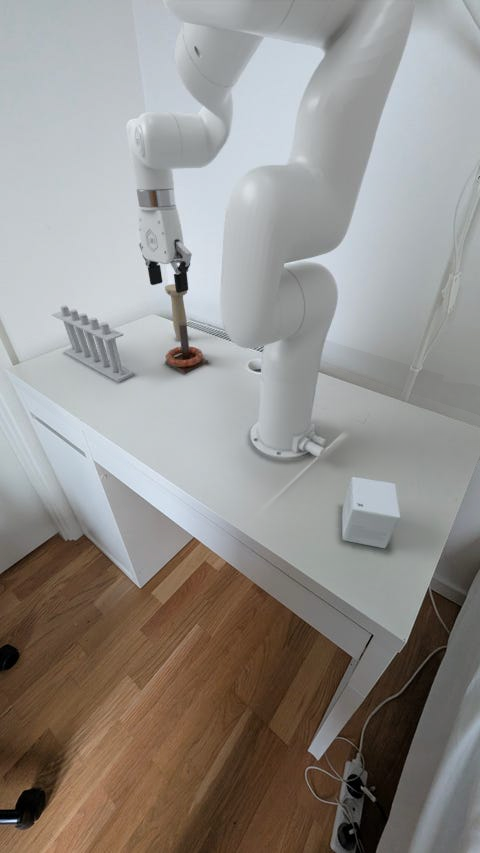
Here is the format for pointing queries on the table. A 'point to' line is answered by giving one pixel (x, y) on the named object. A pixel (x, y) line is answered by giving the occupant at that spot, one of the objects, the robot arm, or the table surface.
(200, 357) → the ring
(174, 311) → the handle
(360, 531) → the product box
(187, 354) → the rack post
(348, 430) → the table surface
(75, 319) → the test tube rack
